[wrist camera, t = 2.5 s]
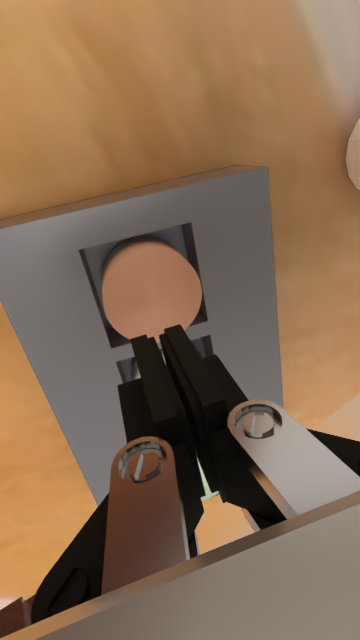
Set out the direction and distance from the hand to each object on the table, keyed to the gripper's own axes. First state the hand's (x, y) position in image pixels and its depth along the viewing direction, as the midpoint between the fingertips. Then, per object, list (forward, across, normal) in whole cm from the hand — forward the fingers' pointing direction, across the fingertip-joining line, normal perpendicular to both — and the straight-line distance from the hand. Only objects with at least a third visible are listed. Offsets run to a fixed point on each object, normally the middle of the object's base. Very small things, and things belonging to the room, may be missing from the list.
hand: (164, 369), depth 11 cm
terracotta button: (+10, -1, 0) cm, 10 cm away
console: (+11, -1, +7) cm, 13 cm away
